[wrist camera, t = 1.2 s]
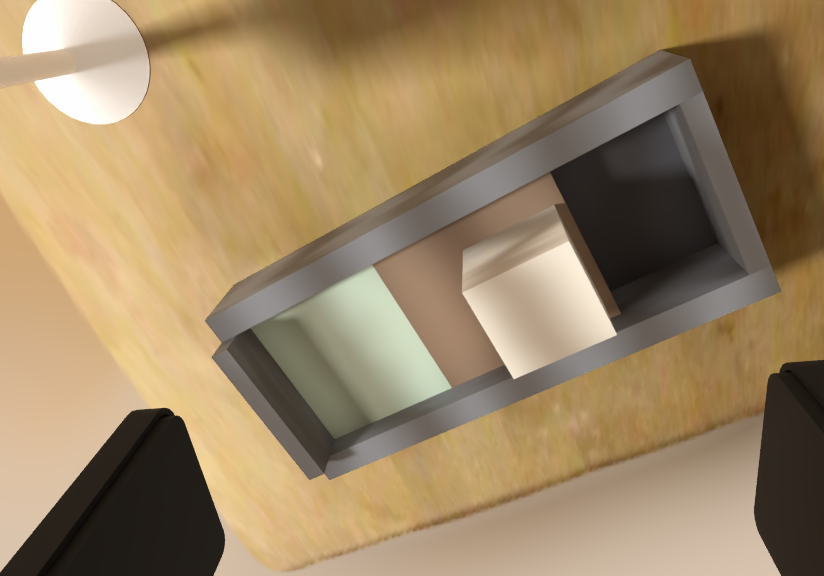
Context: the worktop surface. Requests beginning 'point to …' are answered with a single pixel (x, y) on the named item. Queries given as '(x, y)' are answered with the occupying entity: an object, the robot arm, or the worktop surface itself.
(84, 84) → the champagne flute
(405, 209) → the tray
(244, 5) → the worktop surface
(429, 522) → the worktop surface
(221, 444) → the worktop surface
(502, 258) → the block
